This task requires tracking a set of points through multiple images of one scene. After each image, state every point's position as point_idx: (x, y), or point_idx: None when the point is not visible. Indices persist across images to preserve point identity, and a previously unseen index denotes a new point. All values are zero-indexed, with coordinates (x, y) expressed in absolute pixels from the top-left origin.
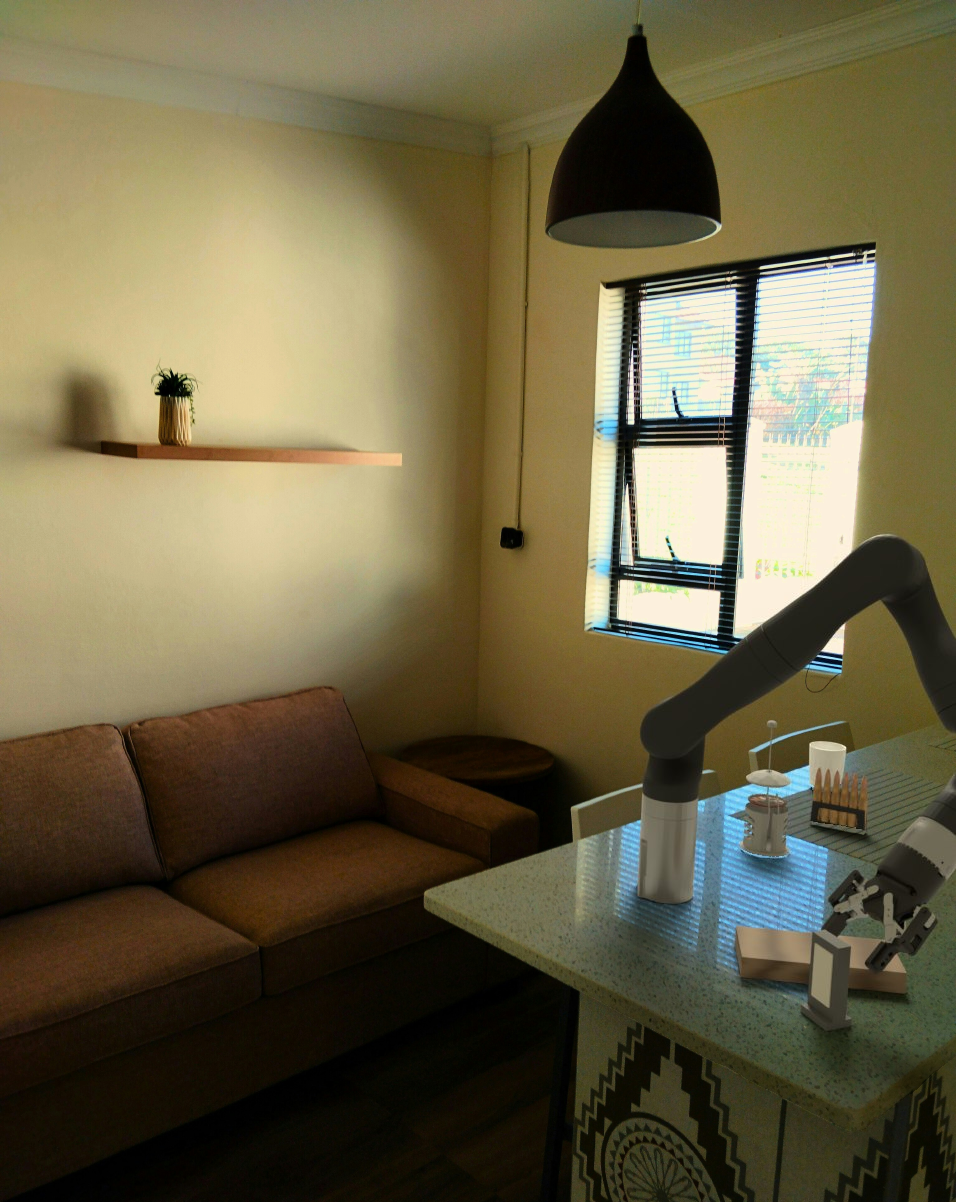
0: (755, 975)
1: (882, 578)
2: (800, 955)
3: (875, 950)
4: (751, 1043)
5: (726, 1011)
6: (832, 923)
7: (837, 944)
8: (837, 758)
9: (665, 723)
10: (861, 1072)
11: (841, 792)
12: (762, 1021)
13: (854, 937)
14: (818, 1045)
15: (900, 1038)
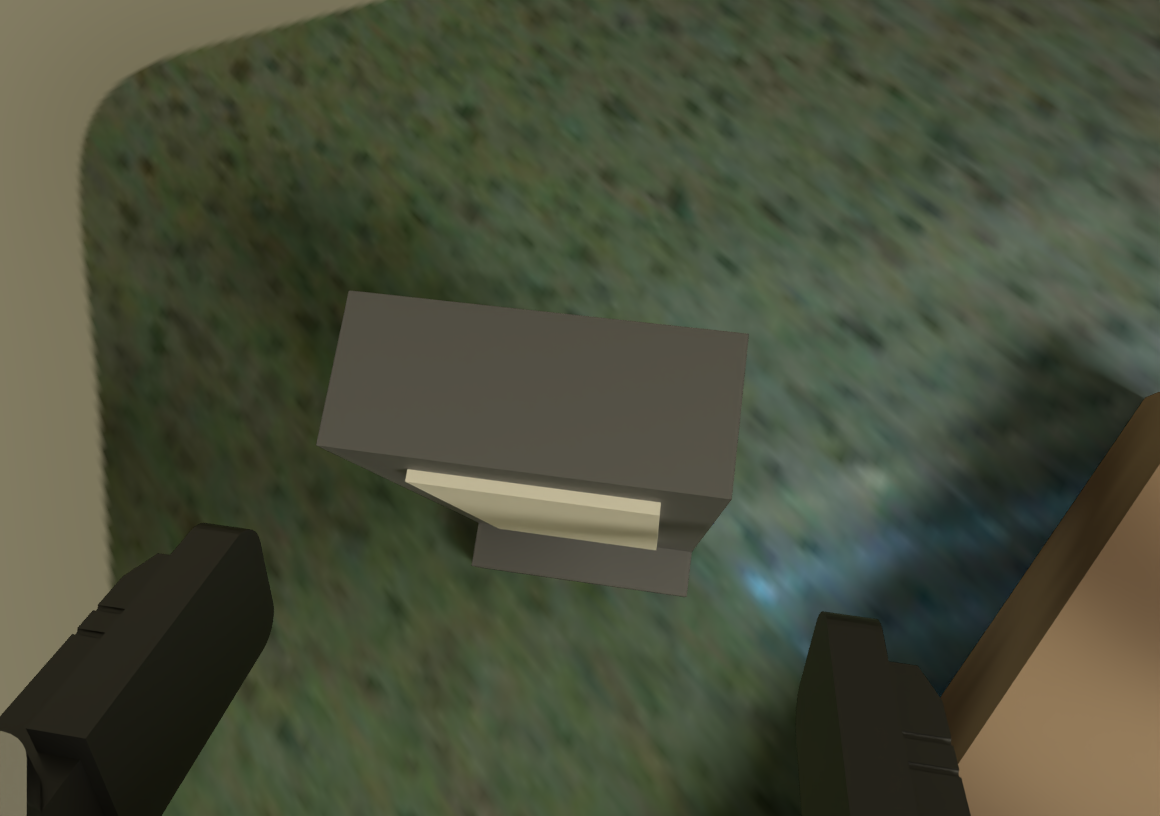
0: (1110, 458)
1: None
2: (1111, 771)
3: (145, 628)
4: (593, 39)
5: (862, 105)
6: (840, 742)
7: (414, 349)
8: None
9: None
10: (205, 300)
11: None
12: (715, 198)
13: None
14: (440, 287)
15: (278, 711)
